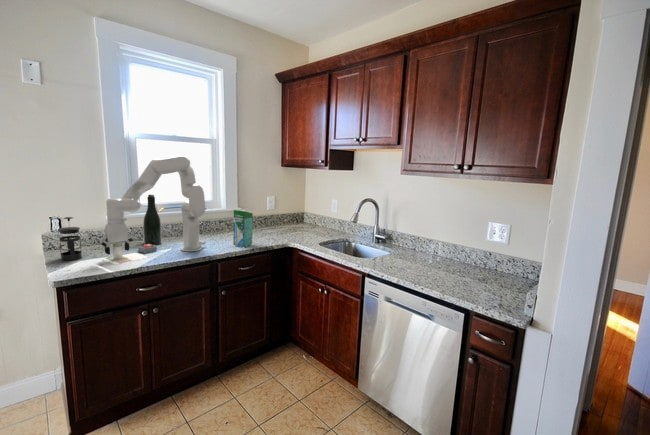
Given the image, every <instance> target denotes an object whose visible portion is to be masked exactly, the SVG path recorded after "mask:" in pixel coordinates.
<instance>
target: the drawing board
mask: <svg viewBox="0 0 650 435" xmlns="http://www.w3.org/2000/svg"><path fill="white" fill-rule="evenodd" d="M147 258H149V256H148V255H147V256H146V255H144V254H141V253H139V252H132V253H127V254H126V253H125V254H122V259H114V257H113V256H110V257H107V258H102V259H101V260H102V261H104V262H106V263H110V264H112V265H119V264H124V263H129V262H134V261H138V260H142V259H147Z"/></svg>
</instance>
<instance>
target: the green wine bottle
mask: <svg viewBox="0 0 650 435" xmlns="http://www.w3.org/2000/svg"><path fill="white" fill-rule="evenodd" d="M161 222H162V221H161V217H160V215H159V212H158V210H157V207H156V197H155V194H148V196H147V209H146V212H145V215H144V218H143V222H142V223H143V230H142V231H143V245H145V244H151V245H153V246H157V245H160V244H161V243H162V227H161V226H162V224H161Z"/></svg>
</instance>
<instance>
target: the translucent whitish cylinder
mask: <svg viewBox="0 0 650 435" xmlns="http://www.w3.org/2000/svg"><path fill="white" fill-rule="evenodd" d="M112 249H113V250H112V252H113V254H112V257H114V259H122V255H123V243H122V242H116V243H112Z"/></svg>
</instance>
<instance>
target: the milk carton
mask: <svg viewBox="0 0 650 435" xmlns="http://www.w3.org/2000/svg"><path fill="white" fill-rule="evenodd" d="M253 215H254V214H253V212H249V210H248V209H242V210H236V209H233V245H235V246H234V247H238V246H241V247H240V248H243V247H244V248H246V247H245V246H247V247H249V246H248V245H251V244H252V245H253V218H254V216H253ZM233 245H232V246H233ZM252 245H251V246H252Z"/></svg>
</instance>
